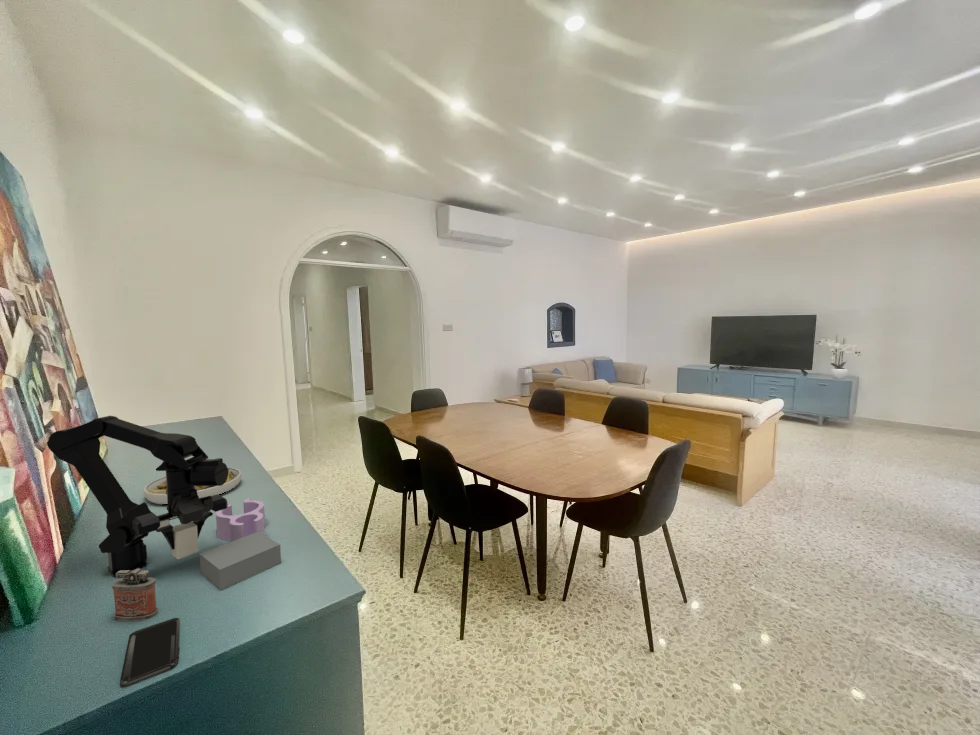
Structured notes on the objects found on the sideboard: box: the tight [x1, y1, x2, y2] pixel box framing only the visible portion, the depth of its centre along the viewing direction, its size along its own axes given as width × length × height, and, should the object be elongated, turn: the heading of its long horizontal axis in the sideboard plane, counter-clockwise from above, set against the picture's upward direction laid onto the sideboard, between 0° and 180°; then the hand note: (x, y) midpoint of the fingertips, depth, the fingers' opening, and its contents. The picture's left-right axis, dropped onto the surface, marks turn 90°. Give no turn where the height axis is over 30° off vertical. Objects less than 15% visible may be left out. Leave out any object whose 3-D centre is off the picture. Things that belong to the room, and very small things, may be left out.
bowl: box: [143, 466, 242, 505], centre depth 153 cm, size 30×30×8 cm
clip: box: [215, 498, 266, 542], centre depth 120 cm, size 20×12×7 cm, turn 42°
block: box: [170, 521, 199, 560], centre depth 103 cm, size 4×4×7 cm
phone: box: [119, 617, 181, 688], centre depth 75 cm, size 8×1×15 cm
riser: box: [199, 532, 282, 591], centre depth 102 cm, size 14×12×5 cm
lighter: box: [111, 568, 159, 622], centre depth 84 cm, size 8×3×10 cm, turn 92°
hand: (184, 545), depth 103 cm, fingers closed on block, 4 cm apart
